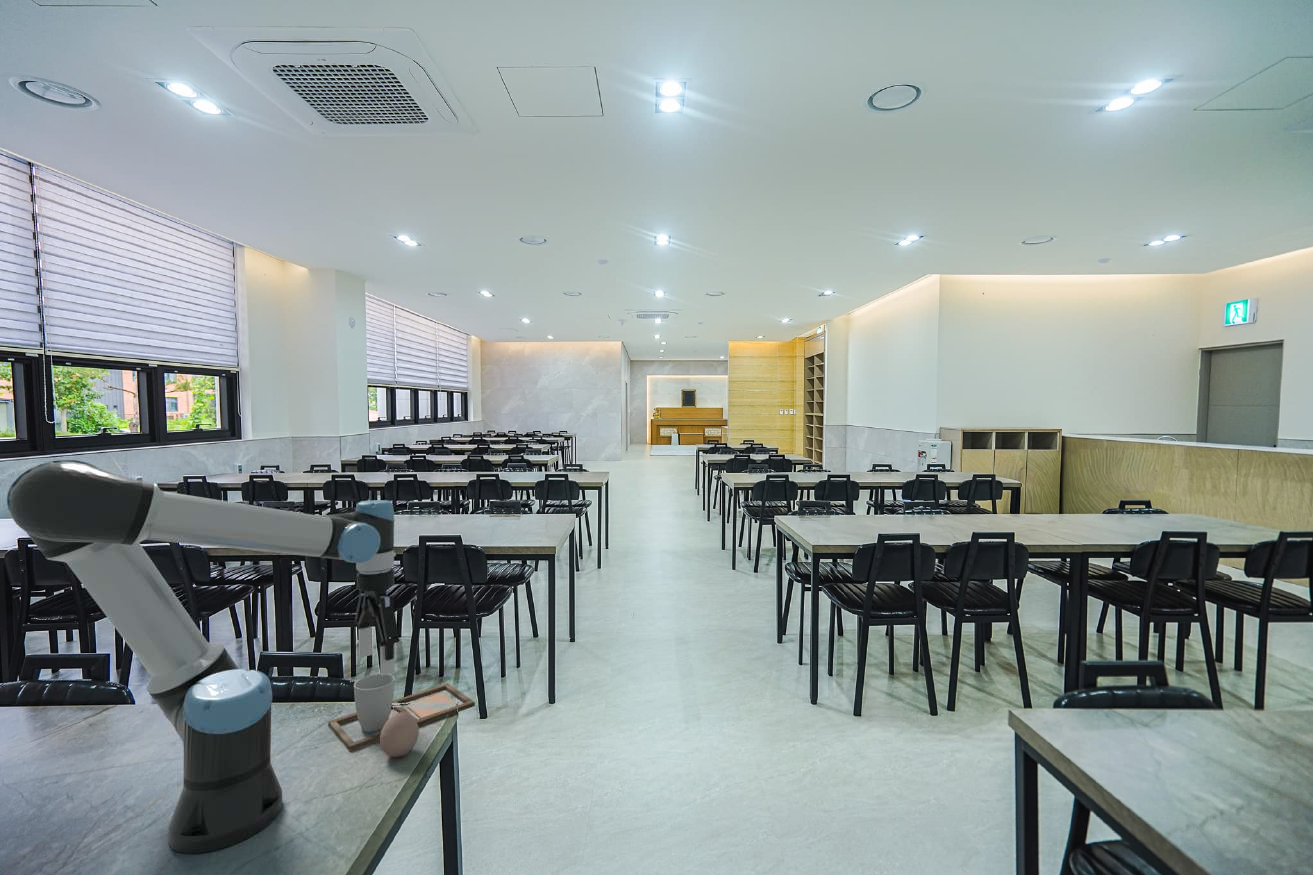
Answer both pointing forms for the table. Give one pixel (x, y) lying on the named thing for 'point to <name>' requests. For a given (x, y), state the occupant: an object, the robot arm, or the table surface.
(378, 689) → the cup
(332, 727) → the brown wooden divided frame
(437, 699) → the pad
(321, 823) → the table surface
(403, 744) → the egg
